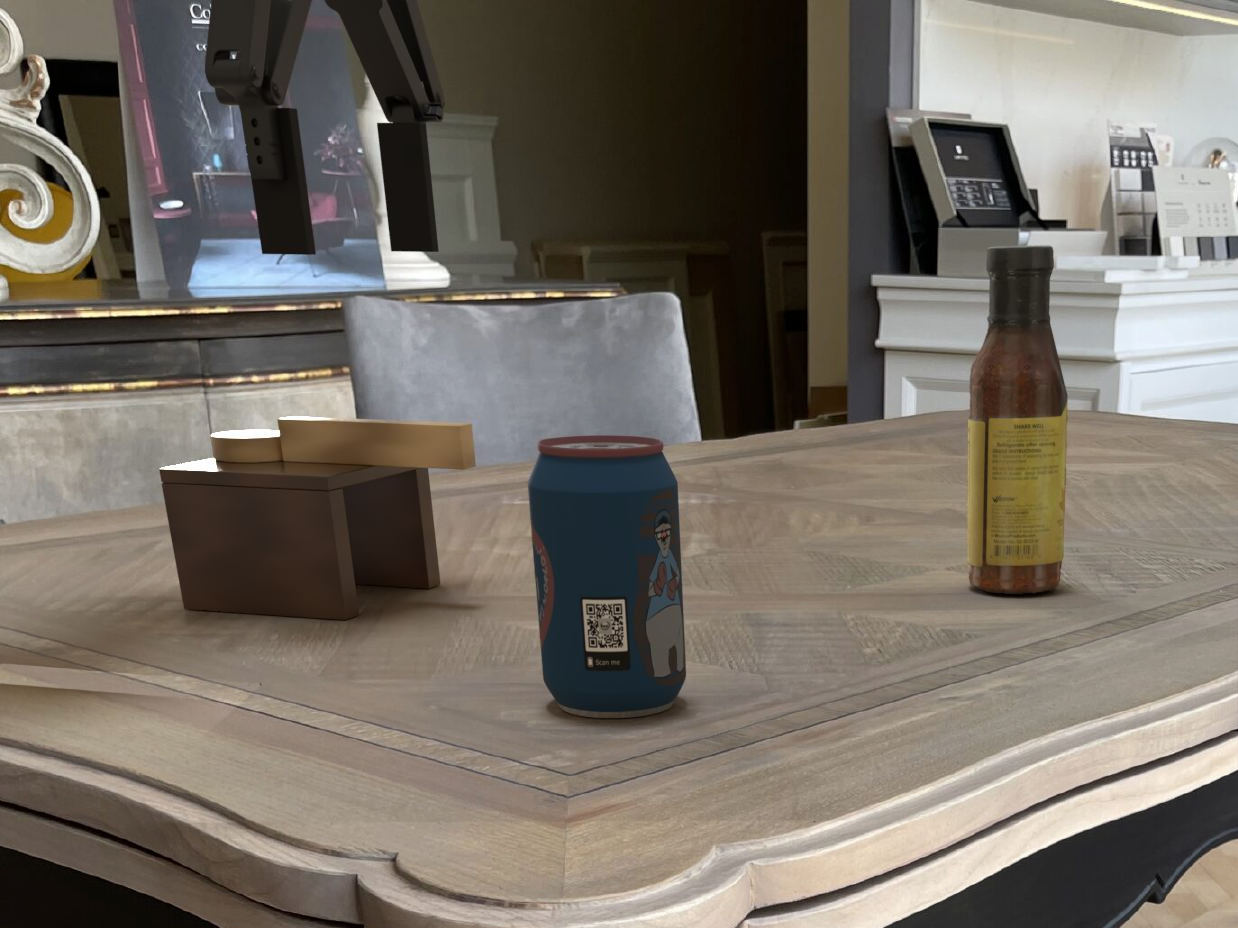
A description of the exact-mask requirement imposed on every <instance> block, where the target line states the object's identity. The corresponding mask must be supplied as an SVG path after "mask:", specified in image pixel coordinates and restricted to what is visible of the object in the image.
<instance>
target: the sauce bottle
mask: <svg viewBox="0 0 1238 928" xmlns="http://www.w3.org/2000/svg"><path fill="white" fill-rule="evenodd" d="M985 262H986V263H985V266H986V267H985V270H986V272H987V275H988V277H989V278H988V279H989V286H988V287H989V290H988V291H989V292H988V293H989V294H988V297H989V298H988V299H989V301H988V316H987V318H986V320H987V323H988V324H987V325H988V326H987V330H986V331H987V332H986V335H985V337H984V340H983V343H982V345H981V347H980V349H979V351H978V352H977V354H976V356H975V358H974V360H973V361H972V364H971V367H970V375H969V385H968V386H969V417H968V419H967V563H968V564H969V565H970V568H969V571H968V581H969V584H970V587H971V588H974V589H976V588H977V590H980V591H983V592H985V593H989V592H990V594H991V593H993V594H1000V593H1004V594H1003V595H1024V594H1023V593H1032V594H1037V592H1038V593H1043V592H1049V591H1053V590H1055V589H1056V588H1058V587H1059V585H1060V582H1061V574H1062V564H1063V560H1064V554H1065V553H1064V550H1065V548H1064V547H1065V544H1064V543H1065V520H1066V519H1065V516H1066V486H1067V449H1068V444H1067V441H1068V440H1067V439H1068V438H1067V437H1068V436H1067V435H1068V404H1069V403H1068V399H1069V398H1068V392H1067V391H1068V390H1067V387H1066V383H1065V379H1064V375H1063V370H1062V366H1061V362H1060V359H1059V353H1058V349H1057V345H1056V342H1055V336H1054V333H1053V329H1052V325H1051V315H1050V301H1051V299H1050V297H1051V276H1052V273H1053V270H1054V267H1055V260H1054V247H1053V246H1052V245H1050V244H1045V245H1044V244H1042V245H1041V244H1040V245H1038V244H1037V245H1036V244H1035V245H998V246H989V247H988V248H986V260H985ZM1052 589H1053V590H1052ZM1048 590H1049V591H1048Z"/></svg>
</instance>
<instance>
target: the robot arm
mask: <svg viewBox="0 0 1238 928" xmlns="http://www.w3.org/2000/svg"><path fill="white" fill-rule="evenodd" d="M312 1H313V0H211V1H210V10H209V20H208V31H207V42H206V49H205V58H204V59H205V60H204V73H205V78H206V81H207V83H208V84H209V85H210V87H212V88H213V89H214V91H215V92H214V93H215V97H216V99H217V101H218V103H219V104H220V105H221V106H224V107H238V108H239V112H240V118H241V125H242V131H243V132H242V133H243V139H244V144H245V153H246V154H247V155H246V159H247V166H248V170H249V173H250V179H251V186H252V191H253V192H252V194H253V200H254V207H255V214H256V221H257V228H258V234H259V242H260V249H261V254H262V255H296V256H297V255H303V256H305V255H307V256H310V255H311V256H313V255H317V252H316V245H315V244H316V243H315V237H314V230H313V229H314V228H313V222H312V215H311V213H312V212H311V207H310V197H309V190H308V184H307V176H306V168H305V167H306V166H305V160H304V153H303V145H302V138H301V130H300V123H299V114H298V108H294V107H293V108H292V107H279V106H282V105H283V104H284V103H285V100H286V96H287V92H288V89H289V85H290V82H291V78H292V74H293V70H294V67H295V63H296V60H297V57H298V53H299V48H300V45H301V41H302V38H303V35H304V31H305V27H306V24H307V19H308V16H309V13H310V10H311V6H312ZM323 1H324V3H325V4H326V5H327V7H328V8H329V9H331V10H333V11H334V12H336V13H337V14H338V15H339V18H340V20H341V22H342V24H343V26H344V28H345V31H346V33H347V35H348V37H349V40H350V43H351V44H352V46H353V48H354V51H355V53H356V55H357V58H358V59H359V62H360V64H361V66H362V68H363V71H364V73H365V75H366V78H367V79H368V82H369V84H370V87H371V88H372V90H373V93H374V95H375V97H376V100H377V101H378V103H379V107H380V108H381V111H382V113H383V115H384V117H385V119H386V121H387V122H376V127H377V138H378V148H379V154H380V155H379V156H380V162H381V173H382V182H383V191H384V200H385V209H386V215H387V216H386V218H387V227H388V236H389V243H390V245H389V246H390V252H405V253H406V252H409V253H411V252H413V253H414V252H415V253H439V252H440V251H439V250H440V249H439V242H438V231H437V221H436V212H435V211H436V210H435V202H434V191H433V182H432V172H431V161H430V149H429V140H428V130H427V123H441V122H443V119H444V109H445V105H446V99H445V94H444V89H443V85H442V84H441V78H440V76H439V73H438V69H437V66H436V62H435V59H434V55H433V52H432V49H431V44H430V41H429V37H428V35H427V30H426V27H425V24H424V20H423V17H422V13H421V10H420V6H419V2H418V0H323ZM231 53H236V55H235V58H231Z"/></svg>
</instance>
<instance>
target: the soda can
mask: <svg viewBox="0 0 1238 928" xmlns="http://www.w3.org/2000/svg"><path fill="white" fill-rule="evenodd" d="M537 451H538V454H537V457H536V460H535V462H534V465H533V468H532V470H531V473H530V475H529V478H528V481H527V493H528V495H527V496H528V506H529V517H530V519H529V520H530V531H531V541H532V542H531V545H532V555H533V556H532V557H533V569H534V580H535V581H534V583H535V594H536V605H537V618H538V620H537V621H538V630H539V644H540V655H541V656H540V657H541V667H542V679H543V682H544V684H545V686H546V688H547V689H548V691H549V693H550V694H551V696H552V697H553V699H554V700H555V701H556V703H557V705H558V706H559V707H560V709H561V710H563V712H566V713H568V714H571V715H575V716H579V717H585V718H593V719H628V718H629V719H630V718H638V717H644V716H645V717H646V716H649V715H650V716H651V715H655V714H658V713H662V712H665V711H666V710H668V709H670V708H671V707H672V706H673V705H674V703H675V702H676V699H677V698H678V695H679V694H680V691H682V688H683V686H684V684H685V681H686V678H687V662H686V642H685V641H686V640H685V638H686V637H685V615H684V596H683V594H684V592H683V571H682V570H683V569H682V552H681V551H682V549H681V527H680V524H681V523H680V506H679V483H678V482H679V481H678V480H677V477H676V475H675V474H674V471H673V469H672V468H671V466H670V463H669V462H668V460H667V458H666V456H665V454H664V452H663V451H664V442H663V441H662V440H661V439H659V438H654V437H646V436H636V435H616V434H615V435H609V434H607V435H605V434H604V435H603V434H601V435H600V434H597V435H572V436H571V435H570V436H559V437H558V436H557V437H549V438H544V439H540V440H539V441H538V442H537Z"/></svg>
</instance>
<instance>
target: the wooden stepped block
mask: <svg viewBox="0 0 1238 928" xmlns="http://www.w3.org/2000/svg"><path fill="white" fill-rule="evenodd" d="M277 427H278V430H272V429H244V430H242V429H241V430H228V431H227V430H226V431H219V432H215V433H211V434H210V442H211V447H212V448H211V449H212V455H213V458H214V459H215V460H216V461H220V462H229V463H263V462H276V461H284V462H304V463H326V464H348V465H371V466H393V467H415V468H428V469H437V470H439V469H440V470H441V469H442V470H463V471H464V470H467V469H471V468H475V467H476V466H477V464H476V454H475V442H474V432H473V431H474V430H473V424H472V423H471V422H454V421H453V422H450V421H449V422H448V421H426V420H425V421H424V420H401V419H400V420H399V419H397V420H396V419H371V418H350V417H349V418H348V417H347V418H345V417H317V416H295V415H294V416H293V415H292V416H291V415H290V416H286V417H279V418H277Z"/></svg>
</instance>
